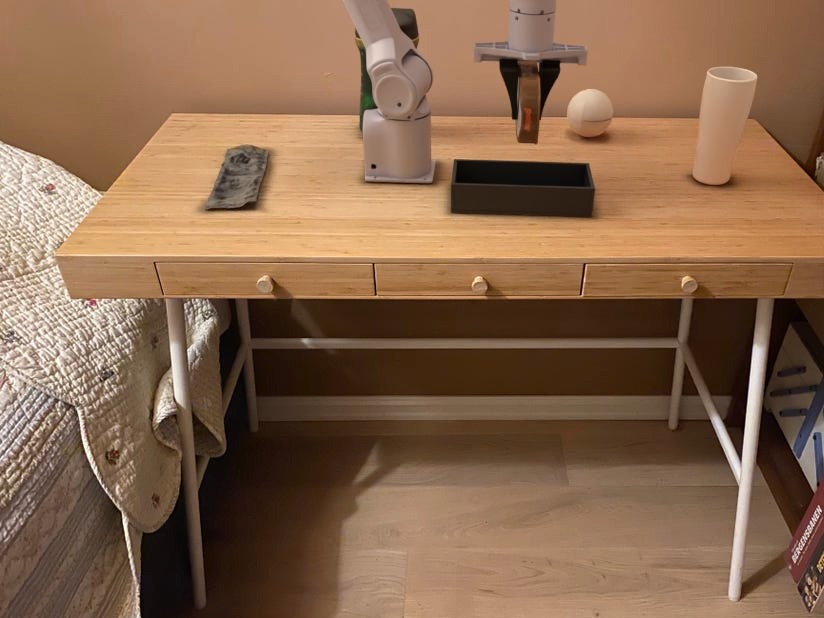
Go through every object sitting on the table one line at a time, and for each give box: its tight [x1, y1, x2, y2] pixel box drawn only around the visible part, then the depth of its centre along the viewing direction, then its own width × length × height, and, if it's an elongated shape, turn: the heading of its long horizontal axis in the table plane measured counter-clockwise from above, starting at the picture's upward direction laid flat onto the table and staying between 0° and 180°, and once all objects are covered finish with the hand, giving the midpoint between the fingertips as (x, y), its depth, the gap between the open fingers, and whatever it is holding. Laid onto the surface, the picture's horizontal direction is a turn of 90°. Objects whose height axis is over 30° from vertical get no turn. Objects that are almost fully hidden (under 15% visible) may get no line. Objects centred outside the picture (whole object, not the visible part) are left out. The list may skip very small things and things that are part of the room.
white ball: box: [566, 88, 626, 138], centre depth 126 cm, size 10×7×7 cm
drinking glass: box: [691, 66, 758, 186], centre depth 110 cm, size 7×7×15 cm
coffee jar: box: [354, 7, 420, 134], centre depth 121 cm, size 10×8×19 cm
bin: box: [450, 158, 596, 218], centre depth 106 cm, size 18×8×4 cm, turn 89°
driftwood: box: [204, 144, 270, 211], centre depth 110 cm, size 21×7×2 cm, turn 6°
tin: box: [515, 62, 541, 145], centre depth 105 cm, size 15×3×8 cm, turn 179°
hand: (525, 117), depth 106 cm, fingers closed on tin, 2 cm apart
